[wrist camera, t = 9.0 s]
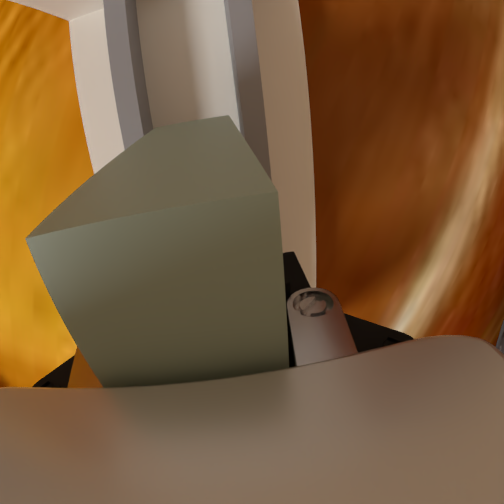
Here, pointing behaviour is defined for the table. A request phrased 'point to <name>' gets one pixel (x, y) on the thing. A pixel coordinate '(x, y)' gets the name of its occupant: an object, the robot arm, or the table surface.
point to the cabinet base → (200, 85)
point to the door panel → (171, 260)
